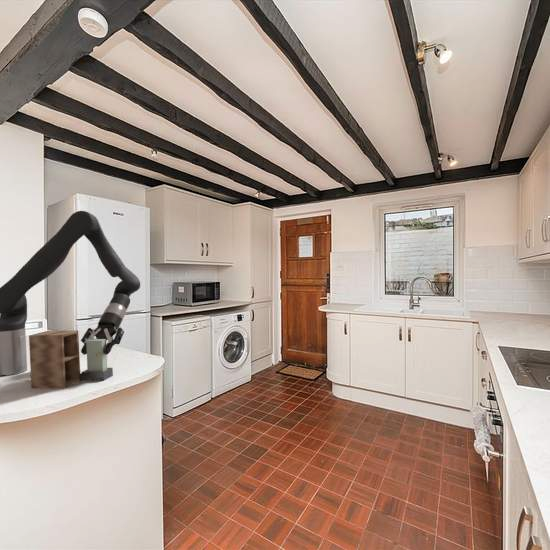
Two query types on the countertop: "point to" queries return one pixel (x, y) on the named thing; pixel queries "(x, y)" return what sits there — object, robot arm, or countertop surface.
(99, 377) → the dark grey rectangular frame
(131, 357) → the countertop surface
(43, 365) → the cabinet
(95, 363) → the sage green block
